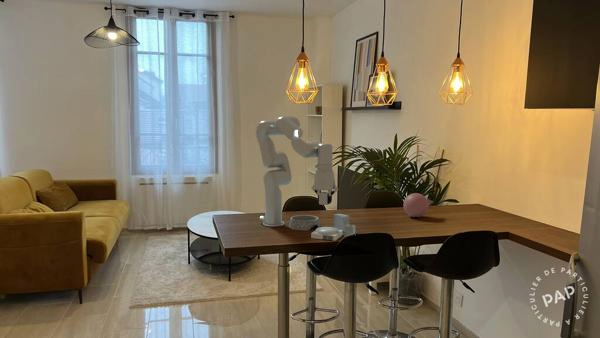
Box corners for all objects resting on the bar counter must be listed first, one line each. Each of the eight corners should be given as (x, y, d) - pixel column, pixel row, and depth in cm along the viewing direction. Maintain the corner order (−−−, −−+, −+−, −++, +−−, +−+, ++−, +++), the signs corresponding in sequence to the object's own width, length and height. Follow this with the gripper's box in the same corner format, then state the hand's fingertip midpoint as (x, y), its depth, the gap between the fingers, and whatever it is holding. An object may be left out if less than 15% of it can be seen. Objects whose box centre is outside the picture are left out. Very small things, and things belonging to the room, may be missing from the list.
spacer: (344, 237, 219) (344, 225, 218) (346, 235, 223) (347, 224, 222) (352, 238, 217) (353, 226, 216) (355, 236, 221) (355, 224, 221)
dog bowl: (282, 226, 243) (282, 217, 242) (307, 221, 254) (307, 213, 254) (301, 232, 230) (301, 222, 229) (326, 227, 241) (326, 218, 241)
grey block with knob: (318, 204, 217) (319, 192, 217) (322, 203, 221) (322, 191, 221) (327, 205, 215) (327, 193, 215) (330, 203, 219) (330, 191, 219)
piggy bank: (439, 219, 264) (440, 194, 263) (409, 220, 260) (410, 195, 258) (427, 214, 279) (428, 191, 277) (398, 215, 275) (399, 191, 273)
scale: (310, 238, 216) (310, 231, 216) (319, 232, 229) (319, 225, 229) (334, 241, 211) (335, 234, 211) (342, 234, 224) (343, 228, 224)
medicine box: (349, 231, 232) (349, 215, 231) (344, 232, 229) (344, 216, 228) (338, 228, 238) (338, 213, 237) (333, 229, 234) (333, 214, 234)
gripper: (306, 167, 217) (306, 203, 218) (338, 169, 210) (338, 205, 212) (312, 166, 223) (312, 200, 225) (343, 167, 217) (342, 203, 218)
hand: (324, 202), depth 218 cm, fingers closed on grey block with knob, 4 cm apart
